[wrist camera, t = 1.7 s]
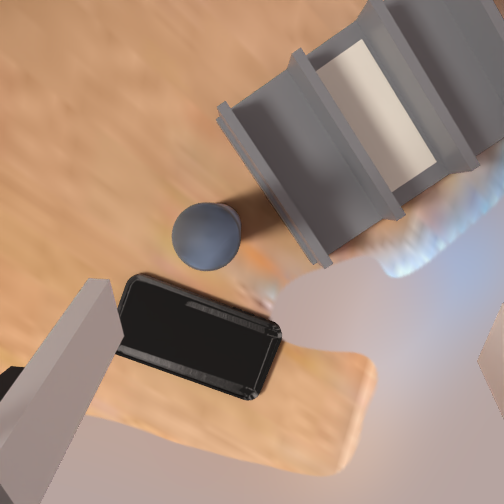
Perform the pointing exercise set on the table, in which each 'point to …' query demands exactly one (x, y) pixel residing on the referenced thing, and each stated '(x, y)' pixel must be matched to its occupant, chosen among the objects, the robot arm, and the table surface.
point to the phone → (196, 337)
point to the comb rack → (373, 117)
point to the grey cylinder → (207, 235)
